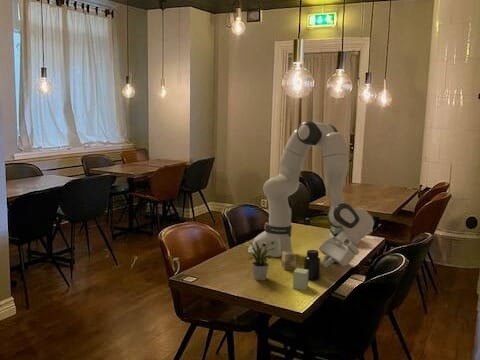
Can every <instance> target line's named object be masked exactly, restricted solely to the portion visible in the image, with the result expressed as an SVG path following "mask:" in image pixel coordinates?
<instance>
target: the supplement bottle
mask: <svg viewBox="0 0 480 360" xmlns="http://www.w3.org/2000/svg"><path fill="white" fill-rule="evenodd" d="M303 269H306V270H309V274H308V281H311V282H312V281H318V280H319V279H320V277H321V258H320V256H319V251H318V250H316V249H308V250H307V251H306V256H305V257H304V263H303Z"/></svg>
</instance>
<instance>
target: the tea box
mask: <svg viewBox="0 0 480 360" xmlns="http://www.w3.org/2000/svg"><path fill="white" fill-rule="evenodd" d="M342 230H343V228H335V227H333V226H331V225H330V224H329V238H333V237H336V236H337V235H338V234H339V233H340V232H341V231H342Z"/></svg>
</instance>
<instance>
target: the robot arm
mask: <svg viewBox="0 0 480 360" xmlns="http://www.w3.org/2000/svg"><path fill="white" fill-rule="evenodd" d="M313 146H314V147H320V149H321V151H322V161H323V167H324V171H325V174H326V181H327V184H328V185H327V186H328V196H329V208H328V212H327V216H326V217H327V218H326V219H327V222H328V223H329V226H330V225H331V226H333V227H335V228H343V230H342V231H341V232H340V233H339V234H338V235H337V236H336V237H333V238H334V239H333V238H331V237H329V238H327V239H326V240H325V241H324V242H323V243H322V244H321V245H320V246H319V247H318V250H319V251H320V252H321V253H322V254H323V255H324V257H323V259H322V261H320V265H322V266H323V267H325V268H327V267H329V266H330V265H331V264H332V263H334V261H336V262H337V263H339V264H340V265H339V266H341V267H347V266H348V265H349V264H350V263H351V262H352V261H353V260H354V258H355V257H356V256H357V255H359V254H360V250H359V248H358V245H359V242H360V241H361V240H362V239H364V238H365V237H366V236H367V235H368V234H369V233H370V231H371V230H372V228H374V225H375V220H374V218H373V216H372V215H371V214H370V213H369V212H368V211H367V210H365V209H358V208H356V207H354V206H351V205H350V204H348V203H345V201H344V200H345V199H344V191H343V190H344V189H343V186H344V185H343V184H344V181H345V179H346V175H347V174H348V172H349V161H350V160H349V152H348V147H347V143H346V141H345V137H344V135H343V134H342V133H341V132H338V129H337V128H336V127H335V126H334V125H332V124H329V123H324V122H322V121H309V120H307V121H304V122H301V123H300V124H299V125H298V127H297V128H295V129H294V130H293V132H292V133H291V135H290V136H289V138H288V141H287V142H286V145H285V146H284V149H283V152H282V154H281V157H280V160H279V164H280V167H279V173H278V174H277V176H272V177H269V179H268V180H266V181H265V182H264V184H263V186H262V190H263V194H264V195H265V197H266V199H267V203H268V222H265V223H264V231H262V232H261V233H259V234H257V236H255V237H254V238H253V242H252V245H253V246H254V248H255V251H256V250H257V246H256V243H255V242H257V244H258V246H259V248H261V247H262V250H261V254H262V252H264V250H265V248H266V246H267V244H268V246H267V249H266V250H268V249H270V248H272V247H273V246H275V247H273V248H272V249H271V250H270V251H269V252H268V253H267V252H266V253H267V254H266V256H267V255H272V256H271V257H274V258H279V257H281V258H282V251H293V246H292V240H291V239H292V233H293V232H292V230H293V228H292V227H293V226H292V208H291V207H290V204H289V196H292V195H294V194H295V193H296V192H297V191H298V189H299V187H300V180H299V179H300V175H301V171H302V168H303V166H304V163H305V160H306V158H307V156H308V153H309V150H310V149H311V147H313ZM263 241H264V242H263ZM264 244H265V245H264ZM252 245H251V244H250V245H249V246H248V247H247V251H248V253H249V254H250V253H252V252H253V253H254V254H255V252H254V251H253V249H252V248H253V247H252ZM250 249H251V250H252V251H251V250H250ZM256 253H257V252H256ZM255 255H256V254H255Z"/></svg>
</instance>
